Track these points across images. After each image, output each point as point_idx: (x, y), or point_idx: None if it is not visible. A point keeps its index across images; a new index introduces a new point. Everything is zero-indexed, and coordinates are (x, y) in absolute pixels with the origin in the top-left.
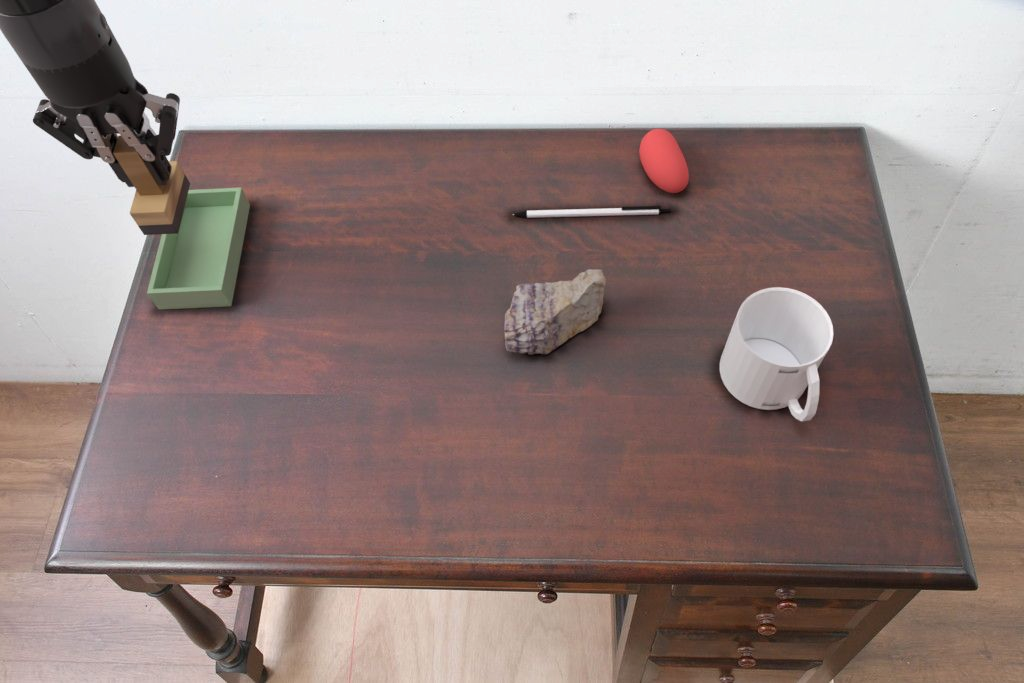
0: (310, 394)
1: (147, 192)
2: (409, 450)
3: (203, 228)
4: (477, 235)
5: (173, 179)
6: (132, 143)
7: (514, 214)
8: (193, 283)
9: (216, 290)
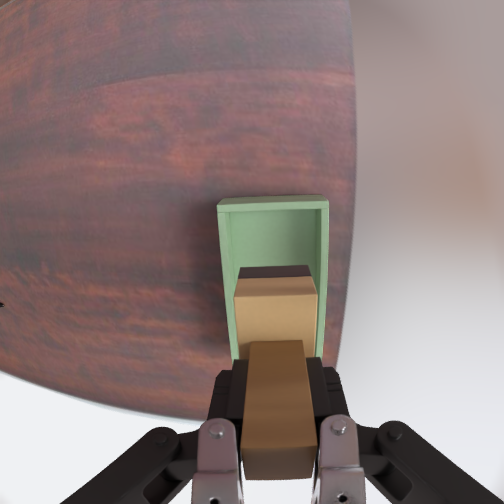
0: (106, 84)
1: (282, 345)
2: (29, 56)
3: None
4: (17, 288)
5: None
6: (219, 481)
7: (2, 305)
8: (278, 231)
9: (224, 204)
